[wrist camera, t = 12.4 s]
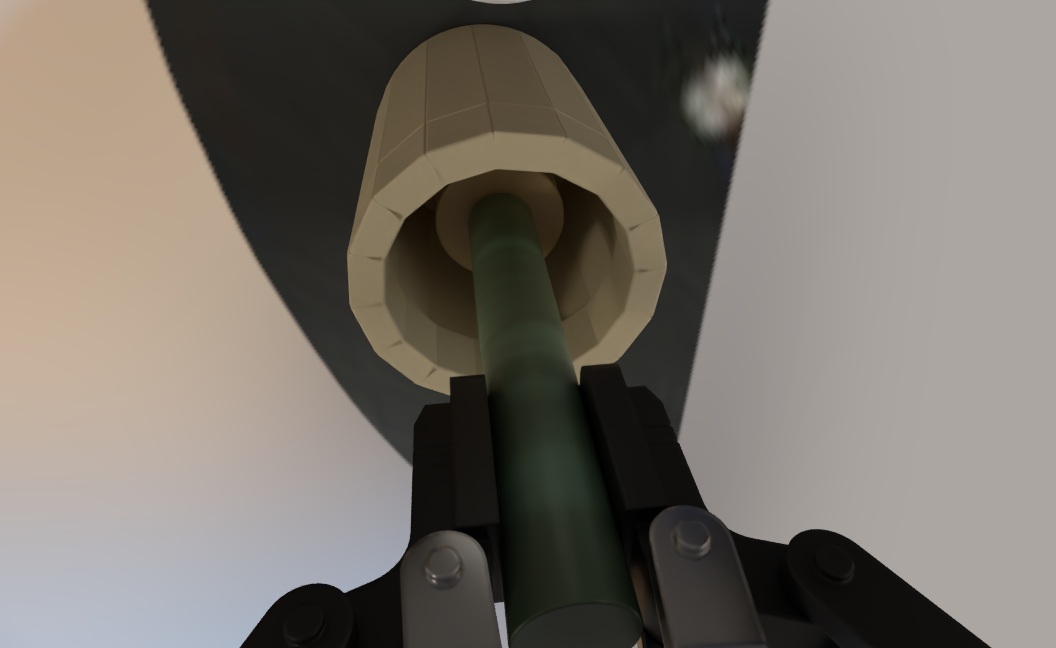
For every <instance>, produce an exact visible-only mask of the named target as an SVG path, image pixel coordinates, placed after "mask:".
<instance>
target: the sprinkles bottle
mask: <svg viewBox="0 0 1056 648" xmlns="http://www.w3.org/2000/svg"><path fill="white" fill-rule="evenodd" d="M474 1H478V2H486V3H494V4H510V3H518V2H524V1H528V0H474Z"/></svg>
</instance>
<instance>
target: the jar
mask: <svg viewBox="0 0 1056 648" xmlns="http://www.w3.org/2000/svg"><path fill="white" fill-rule="evenodd" d="M495 169H504V170H519V171H533V172H547V173H552V174H553V177H554V180H555V182H556V185H557V188H558V190H559V193H560V196H561V199H562V202H563V207H564V224H563V229H562V232H561V235H560V237H559V240H558V241H557V243H556V245H555V247H554V248H553V249H552V251H551V252H550V253H549V254H548V255H547V256H546V257H545V258H544V259H545V263H546V267H547V270H548V274H549V278H550V281H551V285H552V289H553V292H554V296H555V300H556V303H557V307H558V311H559V314H560V318H561V322H562V325H563V329H564V333H565V336H566V340H567V344H568V347H569V351H570V355H571V358H572V362H573V365H574V369H575V373H576V376H577V380H578V384H580V370H581V367H582V366H586V365H598V364H610V363H614V362H615V361H617V360H618V359H619V357H621V356H622V355H623V354H624V352H625V351H626V350H627V349H628V347H629V346H630V345H631V344H632V342H633V341H634V340H635V339H636V337H637V336H638V335H639V333H640V332H641V331H642V330H643V328H644V327H645V326H646V325H647V323H648V322H649V321H650V320H651V316H653V314H654V310H655V307H656V304H657V300H658V297H659V293H660V290H661V287H662V283H663V280H664V276H665V273H666V269H667V268H666V265H667V261H666V255H665V249H664V243H663V237H662V231H661V225H660V218H659V215H658V214H657V210H656V209H655V207H654V205H653V204H652V202H651V200H650V199H649V197H648V196H647V194H646V192H645V191H644V189H643V187H642V186H641V184H640V183H639V181H638V179H637V177H636V176H635V174H634V173H633V171H632V169H631V168H630V166H629V164H628V163H627V161H626V160H625V158H624V156H623V155H622V153H621V151H620V150H619V148H618V147H617V145H616V143H615V142H614V140H613V138H612V137H611V135H610V134H609V132H608V130H607V129H606V127H605V125H604V124H603V122H602V121H601V119H600V117H599V116H598V114H597V112H596V111H595V109H594V107H593V106H592V104H591V103H590V101H589V99H588V98H587V96H586V94H585V93H584V91H583V90H582V88H581V87H580V85H579V84H578V82H577V81H576V80H575V78H574V77H573V75H572V74H571V73H570V71H569V70H568V68H567V67H566V65H565V64H564V63H563V62H562V60H561V59H560V57H559V56H558V55H557V54H556V53H555V52H553V51H552V50H551V49H549V48H548V47H547V46H546V45H544V44H543V43H541V42H540V41H538V40H537V39H535V38H533V37H531V36H529V35H527V34H525V33H523V32H521V31H518V30H515V29H512V28H509V27H503V26H498V25H487V24H476V25H466V26H461V27H457V28H453V29H449V30H447V31H444V32H442V33H439V34H437V35H435V36H433V37H431V38H430V39H428V40H426V41H425V42H423V43H422V44H420V45H419V46H418V47H417V48H415V49H414V50H413V51H412V52H411V53H410V54H409V55H408V56H407V57H406V58H405V59H404V60H403V61H402V62H401V63H400V65H399V66H398V68H397V69H396V70H395V72H394V73H393V75H392V77H391V79H390V81H389V83H388V85H387V87H386V90H385V93H384V95H383V98H382V101H381V104H380V106H379V108H378V111H377V116H376V120H375V125H374V130H373V134H372V139H371V144H370V149H369V153H368V158H367V163H366V167H365V172H364V177H363V181H362V186H361V191H360V196H359V200H358V205H357V210H356V215H355V220H354V225H353V229H352V234H351V239H350V243H349V248H348V253H347V261H348V281H349V300H350V306H351V310H352V311H353V313H354V315H355V317H356V318H357V320H358V322H359V324H360V326H361V327H362V329H363V331H364V333H365V334H366V336H367V338H368V340H369V341H370V343H371V345H372V347H373V349H374V350H375V352H377V354H378V355H379V356H380V357H381V358H383V359H384V360H385V361H387V362H388V363H389V364H391V365H392V366H393V367H395V368H396V369H397V370H398V371H400V372H401V373H402V374H404V375H405V376H406V377H408V378H409V379H410V380H412V381H413V382H414V383H416V384H417V385H418V384H419V385H420V386H423V387H426V388H429V389H432V390H435V391H438V392H441V393H444V394H448V395H450V377H456V376H467V375H479V374H482V365H481V354H480V344H479V333H478V323H477V312H476V302H475V291H474V281H473V271H470V270H468V269H466V268H464V267H463V266H461V265H460V264H458V263H457V262H456V261H455V260H453V259H452V258H451V257H450V256H449V255H448V253H447V252H446V251H445V249H444V248H443V246H442V244H441V243H440V241H439V238H438V235H437V232H436V226H435V194H436V193H437V192H438V191H439V190H441V189H442V188H443V187H444V186H446V185H447V184H450V183H453V182H457V181H460V180H463V179H466V178H469V177H473V176H476V175H479V174H482V173H485V172H489V171H492V170H495Z"/></svg>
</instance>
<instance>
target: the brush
mask: <svg viewBox="0 0 1056 648" xmlns="http://www.w3.org/2000/svg"><path fill="white" fill-rule="evenodd" d="M563 224H564V207H563V202H562V199H561V196H560V193H559V190H558V188H557V185H556V182H555V180H554V177H553V174H552V173H547V172H533V171H519V170H504V169H495V170H492V171H489V172H485V173H482V174H479V175H476V176H473V177H469V178H466V179H463V180H460V181H457V182H453V183H450V184H447V185H446V186H444V187H443V188H442V189H441V190H439V191H438V192H437V193H436V194H435V226H436V232H437V235H438V238H439V241H440V243H441V244H442V246H443V248H444V249H445V251H446V252H447V253H448V255H449V256H450V257H451V258H452V259H453V260H455V261H456V262H457V263H458V264H460V265H461V266H463V267H464V268H466V269H468V270H470V271H473V281H474V291H475V302H476V312H477V323H478V333H479V344H480V354H481V365H482V374H485V379H486V389H487V398H488V408H489V418H490V428H491V438H492V448H493V458H494V468H495V478H496V488H497V498H498V508H499V518H500V532H501V550H502V559H501V575H502V585H503V596H504V605H505V617H506V627H507V636H508V637H507V638H508V646H509V648H632V647H633V646H634V645H635V644H636V643H637V642H638V641H639V639H640V637H641V635H642V632H643V627H644V622H643V618H642V614H641V611H640V607H639V603H638V600H637V596H636V592H635V589H634V585H633V581H632V578H631V574H630V570H629V567H628V563H627V559H626V556H625V552H624V548H623V545H622V542H621V538H620V535H619V531H618V527H617V524H616V520H615V516H614V513H613V509H612V505H611V502H610V498H609V494H608V491H607V487H606V483H605V480H604V476H603V472H602V469H601V465H600V461H599V458H598V454H597V450H596V447H595V443H594V439H593V436H592V432H591V428H590V425H589V421H588V417H587V414H586V410H585V406H584V403H583V399H582V395H581V392H580V388H579V384H578V380H577V376H576V373H575V369H574V365H573V362H572V358H571V355H570V351H569V347H568V344H567V340H566V336H565V333H564V329H563V325H562V322H561V318H560V314H559V311H558V307H557V303H556V300H555V296H554V292H553V289H552V285H551V281H550V278H549V274H548V270H547V267H546V263H545V259H544V258H545V257H546V256H547V255H548V254H549V253H550V252H551V251H552V249H553V248H554V247H555V245H556V243H557V241H558V240H559V237H560V235H561V232H562V229H563Z"/></svg>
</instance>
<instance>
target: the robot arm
mask: <svg viewBox="0 0 1056 648" xmlns="http://www.w3.org/2000/svg"><path fill="white" fill-rule="evenodd" d="M579 388H580V392H581V395H582V399H583V403H584V406H585V410H586V414H587V417H588V421H589V425H590V428H591V432H592V436H593V439H594V443H595V447H596V450H597V454H598V458H599V461H600V465H601V469H602V472H603V476H604V480H605V483H606V487H607V491H608V494H609V498H610V502H611V505H612V509H613V513H614V516H615V520H616V524H617V527H618V531H619V535H620V538H621V542H622V545H623V548H624V552H625V556H626V559H627V563H628V567H629V570H630V574H631V578H632V581H633V585H634V589H635V592H636V596H637V600H638V603H639V607H640V611H641V614H642V618H643V622H644V627H643V632H642V635H641V637H640V639H639V641H638V642H637V645H638V648H991V647H990V646H988V645H987V644H986V643H984V642H983V641H982V640H981V639H979V638H978V637H977V636H975V635H974V634H973V633H972V632H970V631H969V630H968V629H966V628H965V627H964V626H962V625H961V624H960V623H959V622H957V621H956V620H955V619H953V618H952V617H951V616H949V615H948V614H947V613H946V612H944V611H943V610H942V609H940V608H939V607H938V606H937V605H935V604H934V603H933V602H931V601H930V600H929V599H927V598H926V597H925V596H924V595H922V594H921V593H920V592H918V591H917V590H916V589H915V588H913V587H912V586H911V585H909V584H908V583H907V582H905V581H904V580H903V579H902V578H900V577H899V576H898V575H896V574H895V573H894V572H892V571H891V570H890V569H889V568H887V567H886V566H885V565H883V564H882V563H881V562H880V561H878V560H877V559H876V558H874V557H873V556H872V555H870V554H869V553H868V552H867V551H865V550H864V549H863V548H861V547H860V546H859V545H857V544H856V543H855V542H853V541H852V540H850V539H848V538H846V537H845V536H843V535H840V534H838V533H835V532H832V531H828V530H821V529H811V530H806V531H803V532H801V533H799V534H797V535H796V536H795V537H793V538H792V539H791V541H790V543H789V544H788V545H786V544H781V543H775V542H770V541H765V540H759V539H754V538H749V537H745V536H743V535H740V534H737V533H735V532H733V531H731V530H729V529H728V528H727V527H726V526H725V524H724V523H723V522H722V521H721V520H720V519H719V518H717V517H716V516H715V515H713V514H712V513H710V512H709V511H708V510H707V508H706V506H705V505H704V503H703V500H702V498H701V495H700V493H699V490H698V488H697V486H696V483H695V481H694V478H693V476H692V474H691V471H690V469H689V466H688V464H687V461H686V459H685V456H684V454H683V452H682V449H681V447H680V444H679V443H678V442H677V437H676V435H675V432H674V430H673V427H672V426H671V425H670V420H669V418H668V415H667V413H666V411H665V408H664V406H663V403H662V402H661V401H660V400H659V399H658V398H657V397H656V396H655V395H654V394H653V393H652V392H651V391H650V390H649V389H648V388H647V387H646V386H635V387H627V386H626V383H625V380H624V378H623V375H622V372H621V369H620V367H619V365H618V364H617V363H610V364H598V365H586V366H582V367H581V370H580V384H579ZM413 448H414V451H413V473H412V506H411V533H410V540H409V544H408V547H407V549H406V551H405V553H404V555H403V557H402V558H401V559H400V561H399V562H398V563H397V564H396V565H395V566H394V567H393V568H392V569H391V570H390V571H389V572H387V573H386V574H384V575H383V576H381V577H380V578H378V579H376V580H374V581H372V582H370V583H367V584H365V585H362V586H360V587H358V588H355V589H353V590H351V591H348V592H346V593H343V592H342V591H341V590H340V589H338V588H336V587H334V586H331V585H328V584H321V583H317V584H308V585H304V586H301V587H299V588H296V589H294V590H292V591H290V592H288V593H286V594H285V595H284V596H282V597H281V598H279V599H278V600H277V601H276V602H275V603H274V604H273V605H272V606H271V607H270V609H269V610H268V611H267V612H266V614H265V615H264V616H263V618H262V619H261V620H260V622H259V623H258V624H257V626H256V627H255V628H254V629H253V631H252V632H251V634H250V635H249V636H248V637H247V639H246V640H245V641H244V643H243V644H242V645H241V647H240V648H502V645H501V640H500V634H499V628H498V623H497V616H496V611H495V605H494V603H498V602H504V596H503V585H502V575H501V559H502V550H501V532H500V518H499V508H498V498H497V488H496V478H495V468H494V458H493V448H492V438H491V428H490V418H489V408H488V398H487V389H486V379H485V374H479V375H467V376H456V377H450V403H442V404H431V405H425V406H424V408H423V410H422V412H421V413H420V415H419V417H418V419H417V421H416V422H415V424H414V442H413Z"/></svg>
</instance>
